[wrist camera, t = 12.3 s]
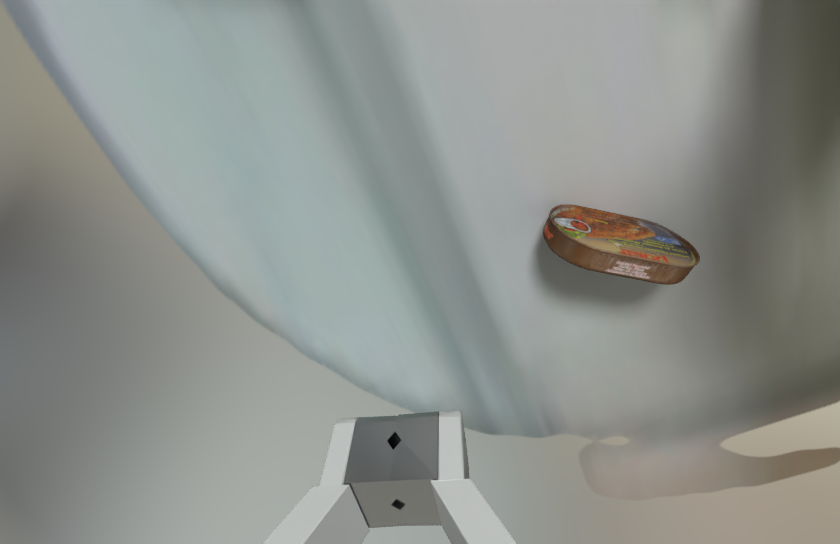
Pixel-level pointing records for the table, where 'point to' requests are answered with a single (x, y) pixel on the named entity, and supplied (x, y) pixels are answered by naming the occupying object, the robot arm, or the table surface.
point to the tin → (619, 245)
